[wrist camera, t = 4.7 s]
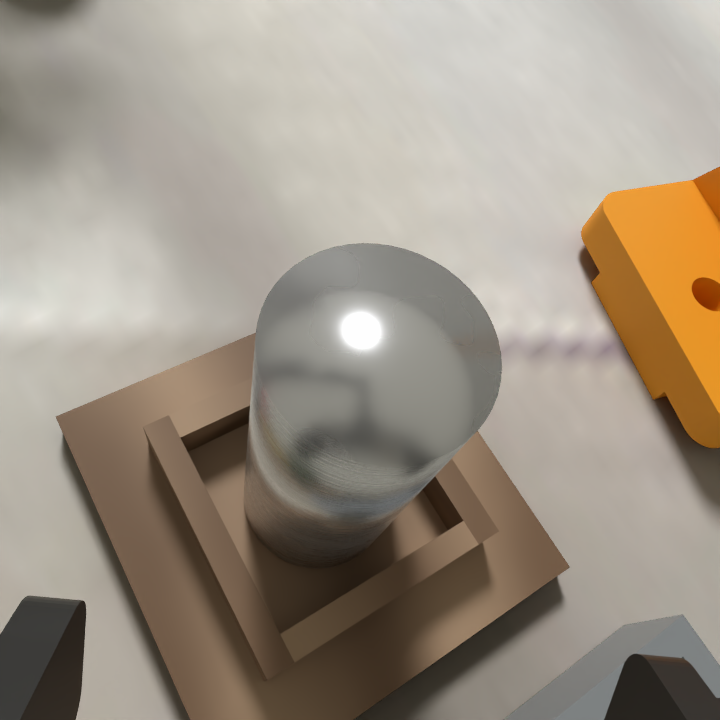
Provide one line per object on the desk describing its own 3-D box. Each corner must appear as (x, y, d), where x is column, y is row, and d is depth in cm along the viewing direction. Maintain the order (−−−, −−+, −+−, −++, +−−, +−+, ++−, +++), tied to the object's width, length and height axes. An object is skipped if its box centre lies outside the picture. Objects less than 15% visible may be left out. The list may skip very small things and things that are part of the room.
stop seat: (229, 801, 18) (229, 816, 15) (62, 428, 21) (43, 397, 19) (556, 572, 22) (592, 558, 20) (371, 296, 26) (385, 258, 24)
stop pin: (287, 597, 19) (338, 515, 11) (218, 464, 21) (210, 293, 12) (415, 521, 21) (549, 396, 12) (342, 403, 22) (415, 214, 14)
